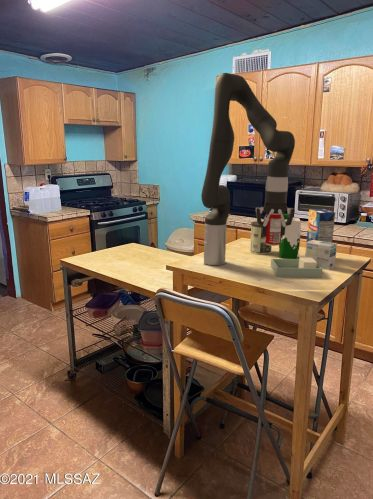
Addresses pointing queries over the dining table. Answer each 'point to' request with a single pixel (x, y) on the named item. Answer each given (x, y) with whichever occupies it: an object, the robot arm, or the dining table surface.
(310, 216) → the beverage box
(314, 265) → the cream white block
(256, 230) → the coffee can
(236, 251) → the dining table surface
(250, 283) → the dining table surface
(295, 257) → the milk carton
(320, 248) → the light bulb box
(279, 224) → the soda can
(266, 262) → the dining table surface
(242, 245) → the dining table surface
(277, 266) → the tote
